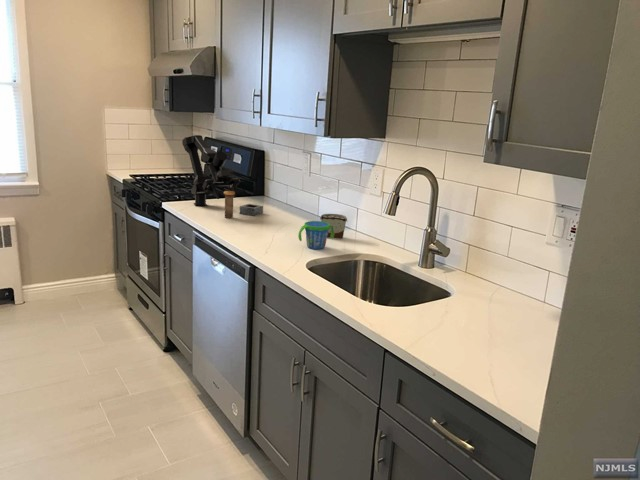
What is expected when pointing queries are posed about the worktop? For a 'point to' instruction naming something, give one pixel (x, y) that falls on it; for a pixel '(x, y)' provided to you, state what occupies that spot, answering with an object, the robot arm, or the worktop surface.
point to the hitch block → (251, 209)
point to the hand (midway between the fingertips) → (227, 197)
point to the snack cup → (316, 234)
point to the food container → (335, 224)
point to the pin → (229, 204)
